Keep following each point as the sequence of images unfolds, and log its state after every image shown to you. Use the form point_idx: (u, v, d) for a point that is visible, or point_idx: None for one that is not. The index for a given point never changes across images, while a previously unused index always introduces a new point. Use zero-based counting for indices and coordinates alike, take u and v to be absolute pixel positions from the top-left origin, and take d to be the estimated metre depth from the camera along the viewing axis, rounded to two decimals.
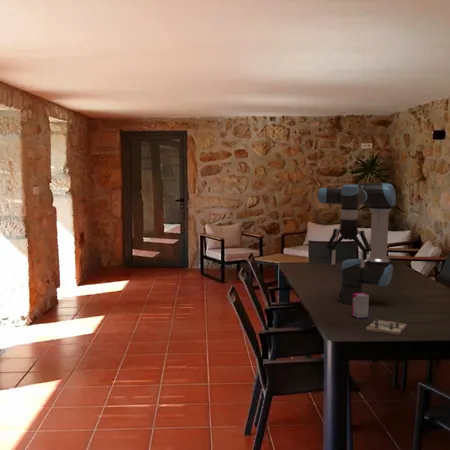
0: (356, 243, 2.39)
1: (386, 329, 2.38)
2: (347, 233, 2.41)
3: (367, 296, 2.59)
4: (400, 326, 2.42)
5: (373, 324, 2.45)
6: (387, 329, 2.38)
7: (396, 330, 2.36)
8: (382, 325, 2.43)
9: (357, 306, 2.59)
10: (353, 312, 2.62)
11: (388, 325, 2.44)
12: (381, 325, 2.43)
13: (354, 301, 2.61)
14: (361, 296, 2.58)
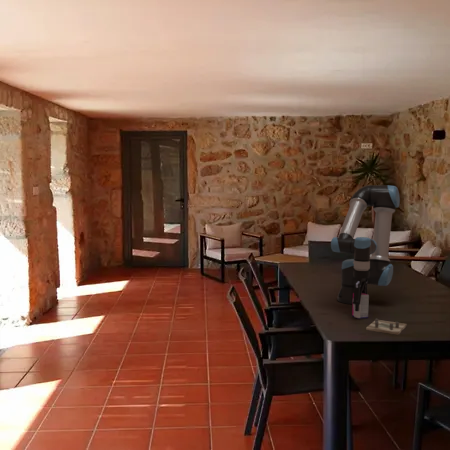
0: None
1: (386, 329, 2.38)
2: None
3: (367, 296, 2.59)
4: (400, 326, 2.42)
5: (373, 324, 2.45)
6: (387, 329, 2.38)
7: (396, 330, 2.36)
8: (382, 325, 2.43)
9: None
10: (353, 312, 2.62)
11: (388, 325, 2.44)
12: (381, 325, 2.43)
13: None
14: (361, 296, 2.58)
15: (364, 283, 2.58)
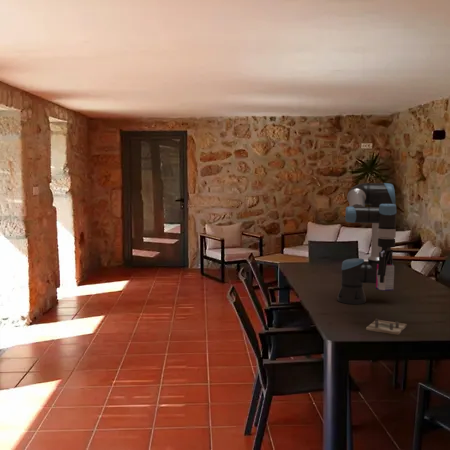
0: None
1: (386, 329, 2.38)
2: None
3: (392, 267, 2.40)
4: (400, 326, 2.42)
5: (373, 324, 2.45)
6: (387, 329, 2.38)
7: (396, 330, 2.36)
8: (382, 325, 2.43)
9: None
10: (377, 284, 2.44)
11: (388, 325, 2.44)
12: (381, 325, 2.43)
13: None
14: (386, 266, 2.40)
15: (389, 253, 2.40)
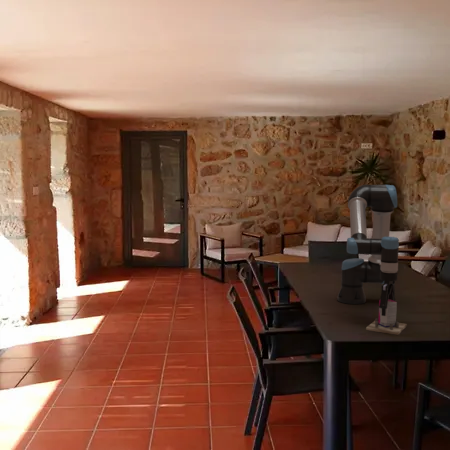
0: None
1: (386, 329, 2.38)
2: None
3: (395, 303, 2.41)
4: (400, 326, 2.42)
5: (373, 324, 2.45)
6: (387, 329, 2.38)
7: (396, 330, 2.36)
8: None
9: None
10: (379, 320, 2.44)
11: None
12: None
13: None
14: (389, 303, 2.40)
15: (392, 286, 2.40)
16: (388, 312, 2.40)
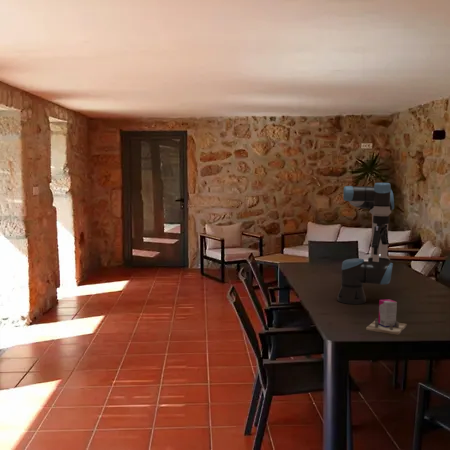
0: None
1: (386, 329, 2.38)
2: None
3: (395, 303, 2.41)
4: (400, 326, 2.42)
5: (373, 324, 2.45)
6: (387, 329, 2.38)
7: (396, 330, 2.36)
8: None
9: (384, 314, 2.40)
10: (379, 320, 2.44)
11: None
12: None
13: (381, 308, 2.43)
14: (389, 303, 2.40)
15: (384, 229, 2.54)
16: (388, 312, 2.40)
